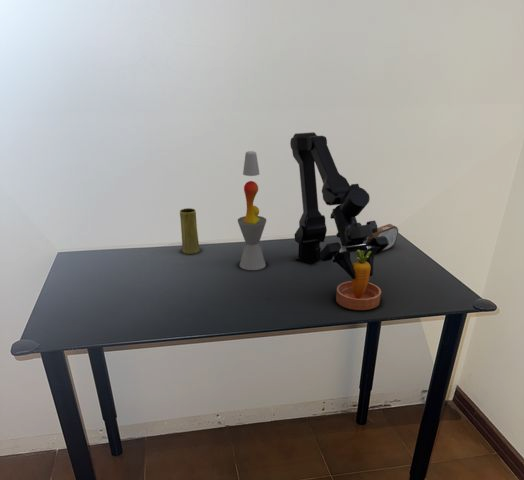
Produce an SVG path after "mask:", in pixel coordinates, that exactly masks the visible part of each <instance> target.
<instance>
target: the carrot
mask: <svg viewBox="0 0 524 480" xmlns="http://www.w3.org/2000/svg"><path fill="white" fill-rule="evenodd" d="M371 253H372V252H371V251H369V252H368V253H367V255H366V257H365V258H364V253H363V251H362V250H357V251H356V254H357V257H356V261H355V262H353V263H352V266H353V269H354V272H355V276H356V278H355V279H352V278H351V281H352V288H353V292H354V295H355V298H357V299H360V298H361V297H362V296H363V294H364V292H365V290H366V287H367V284H368V282H369V281H370V277H371V276H370V269H371V267H370V264H369V263H368V262H366V260H367V258H368V257H369V255H370V254H371Z"/></svg>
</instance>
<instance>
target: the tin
mask: <svg viewBox="0 0 524 480" xmlns="http://www.w3.org/2000/svg"><path fill="white" fill-rule="evenodd" d="M377 228H378V231H377V232H376V233H373V236H372V237H371V236H370V237H369V236H368V237H367V240H366V243H368V242H369V241H370V240H371V239H372V238H373V237H380V236H385V237H386V238H387V239H388V242H389V245H388V246H387V247H386V248H384V249H383V250H382V251H381V252H380V253H382V252H384V251H387V250H389V249H391V248H392V247H393V246H394V245H395V244H396V242H397V239H398V235H399V227H397V226H396V225H393V224H392V223H388V224H385V225H382V226H379V227H377ZM376 254H378V253H375V255H376Z"/></svg>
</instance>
